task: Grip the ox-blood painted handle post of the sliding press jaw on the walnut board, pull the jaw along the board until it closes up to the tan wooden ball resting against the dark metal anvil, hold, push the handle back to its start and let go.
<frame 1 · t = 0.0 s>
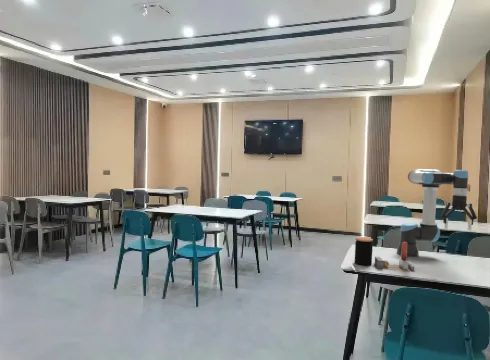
hand: (457, 229, 224), 28 cm above the table, fingers open, 13 cm apart
nut: (385, 266, 231), point 1 cm above the table, touching board
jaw: (404, 254, 229), point 10 cm above the table, slide at 0.0 cm
board: (393, 269, 231), on the table
coffee jar: (362, 266, 237), on the table
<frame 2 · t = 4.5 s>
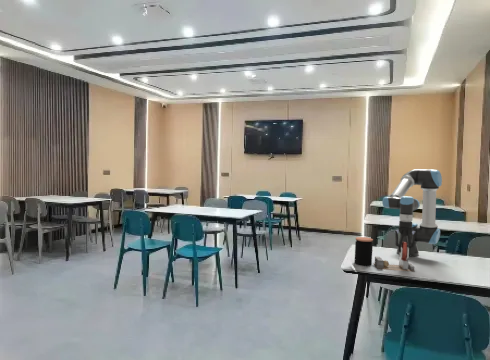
hand: (403, 257, 229), 8 cm above the table, fingers closed on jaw, 3 cm apart
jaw: (404, 254, 229), point 10 cm above the table, slide at 0.0 cm, touching gripper
everything else where it was.
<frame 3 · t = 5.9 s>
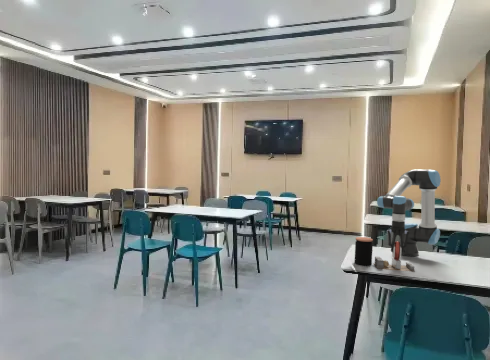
hand: (396, 257, 230), 8 cm above the table, fingers closed on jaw, 3 cm apart
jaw: (396, 254, 230), point 10 cm above the table, slide at 4.5 cm, touching gripper
everything else where it was.
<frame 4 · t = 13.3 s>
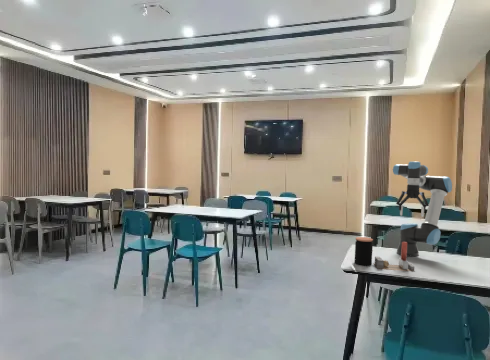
hand: (411, 215, 245), 33 cm above the table, fingers open, 13 cm apart
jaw: (403, 254, 229), point 10 cm above the table, slide at 0.1 cm
everything else where it was.
at the end: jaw slide at 0.1 cm; nut moved 0.0 cm from its start; the gripper is holding nothing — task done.
